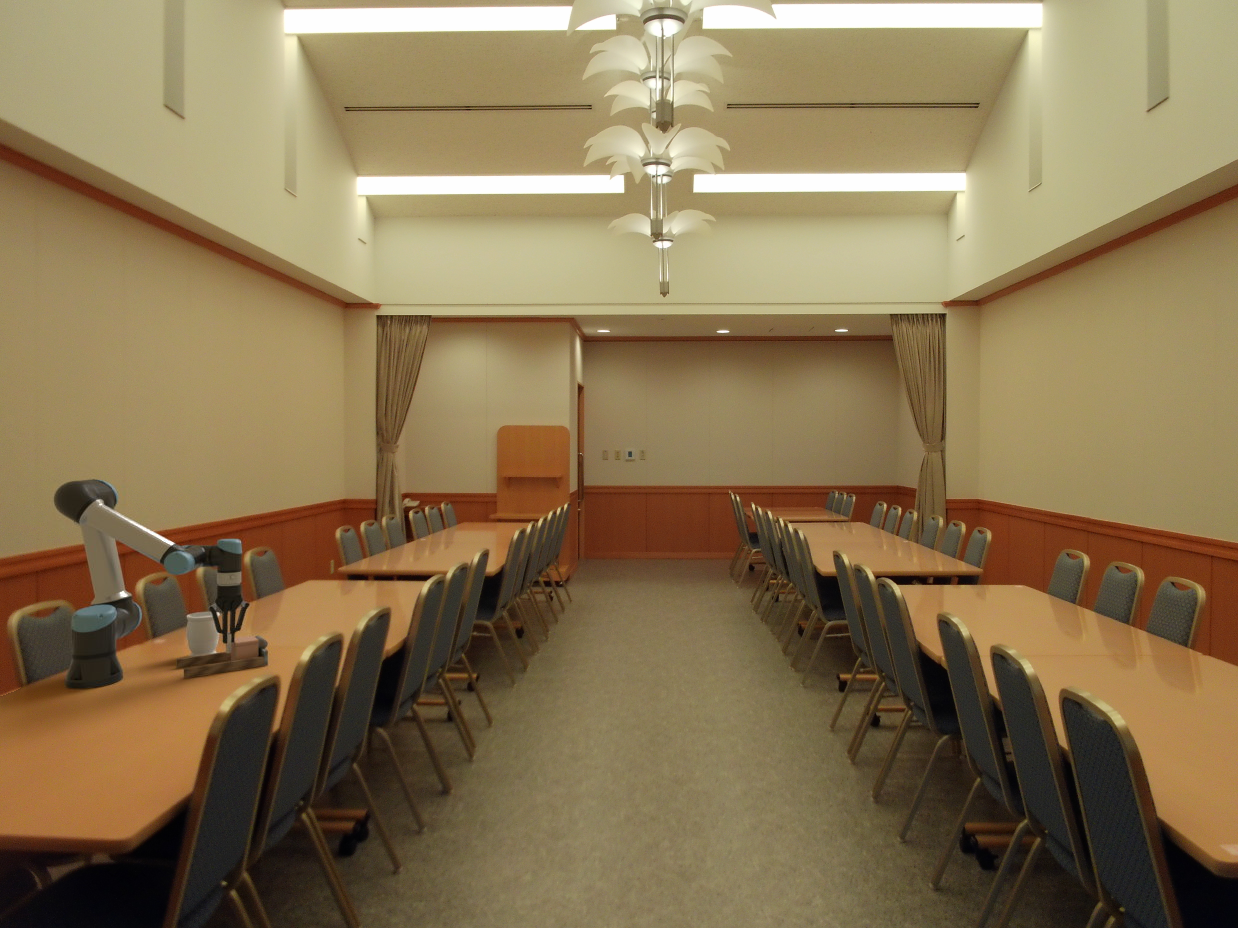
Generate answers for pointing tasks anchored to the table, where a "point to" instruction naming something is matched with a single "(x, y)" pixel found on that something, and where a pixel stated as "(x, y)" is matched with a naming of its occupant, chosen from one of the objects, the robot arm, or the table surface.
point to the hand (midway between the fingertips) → (228, 652)
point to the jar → (202, 633)
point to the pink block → (244, 648)
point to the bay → (220, 657)
